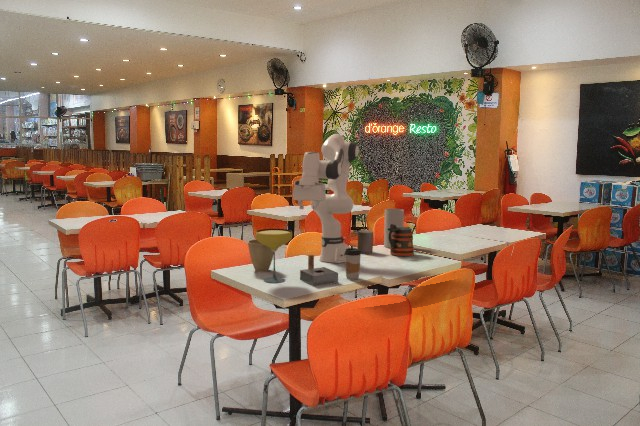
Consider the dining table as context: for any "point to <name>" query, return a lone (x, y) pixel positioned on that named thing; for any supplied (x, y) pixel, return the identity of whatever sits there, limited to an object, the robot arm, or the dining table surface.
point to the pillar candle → (365, 241)
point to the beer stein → (401, 241)
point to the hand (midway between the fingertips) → (308, 209)
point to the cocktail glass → (274, 245)
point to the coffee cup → (352, 263)
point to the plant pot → (260, 255)
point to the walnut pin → (310, 261)
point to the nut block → (318, 276)
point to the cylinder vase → (392, 222)
